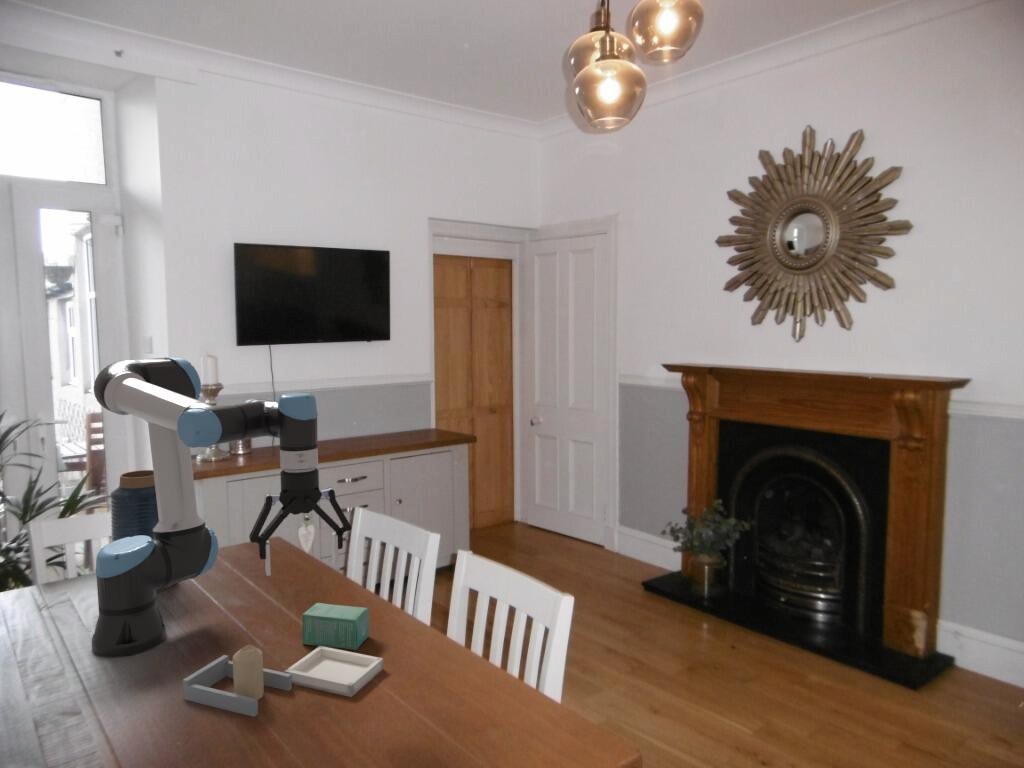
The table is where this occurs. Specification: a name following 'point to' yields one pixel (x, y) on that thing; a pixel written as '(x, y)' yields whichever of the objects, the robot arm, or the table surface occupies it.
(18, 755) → the table surface
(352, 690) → the tray
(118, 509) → the vase
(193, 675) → the bracket
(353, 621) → the box
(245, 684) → the candle
